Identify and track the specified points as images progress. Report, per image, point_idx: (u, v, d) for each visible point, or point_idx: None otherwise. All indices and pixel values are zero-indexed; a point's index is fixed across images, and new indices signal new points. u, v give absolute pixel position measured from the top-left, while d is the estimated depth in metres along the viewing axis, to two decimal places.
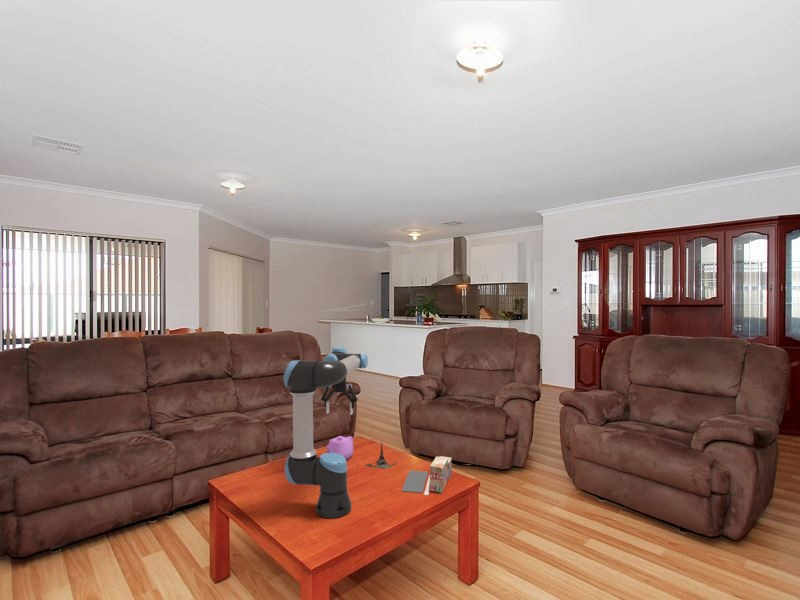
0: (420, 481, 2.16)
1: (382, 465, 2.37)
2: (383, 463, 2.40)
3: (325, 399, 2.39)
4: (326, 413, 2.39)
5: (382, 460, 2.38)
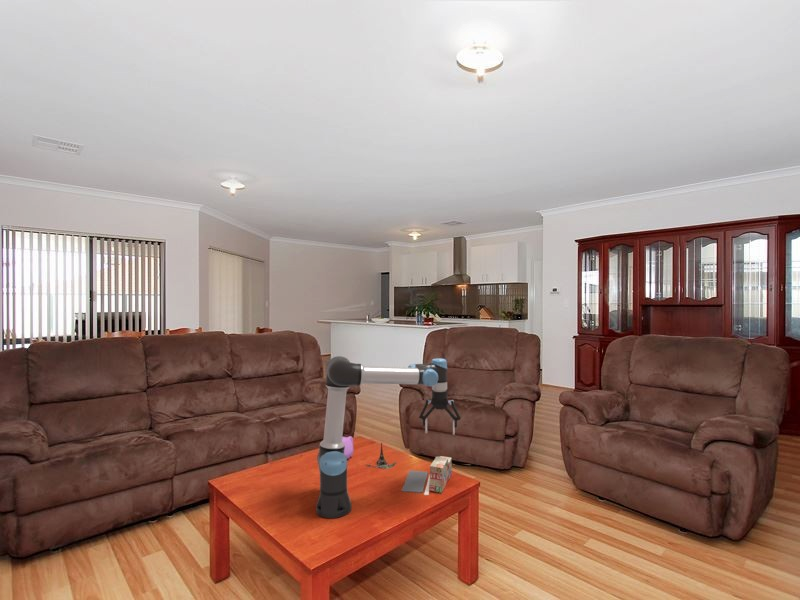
0: (420, 481, 2.16)
1: (382, 465, 2.37)
2: (383, 463, 2.40)
3: (424, 417, 2.14)
4: (425, 432, 2.14)
5: (382, 460, 2.38)
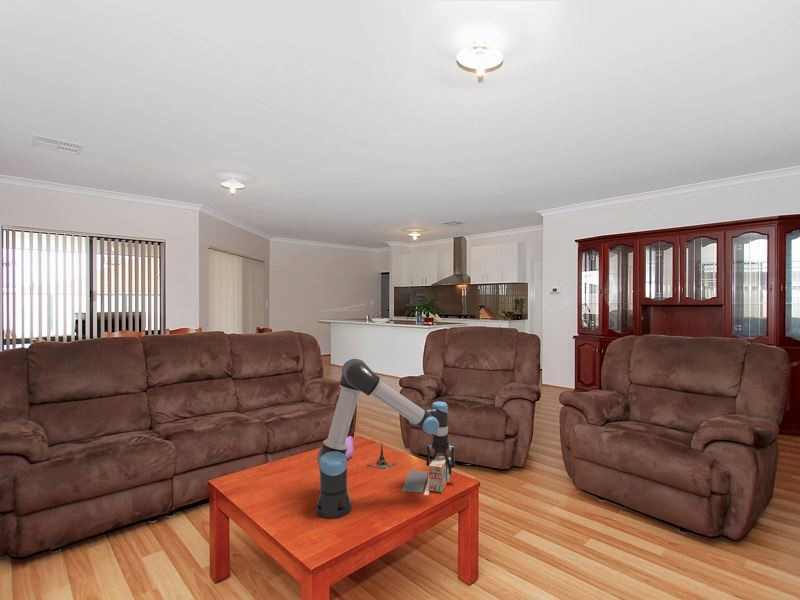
0: (420, 481, 2.16)
1: (382, 465, 2.37)
2: (383, 463, 2.40)
3: None
4: None
5: (382, 460, 2.38)
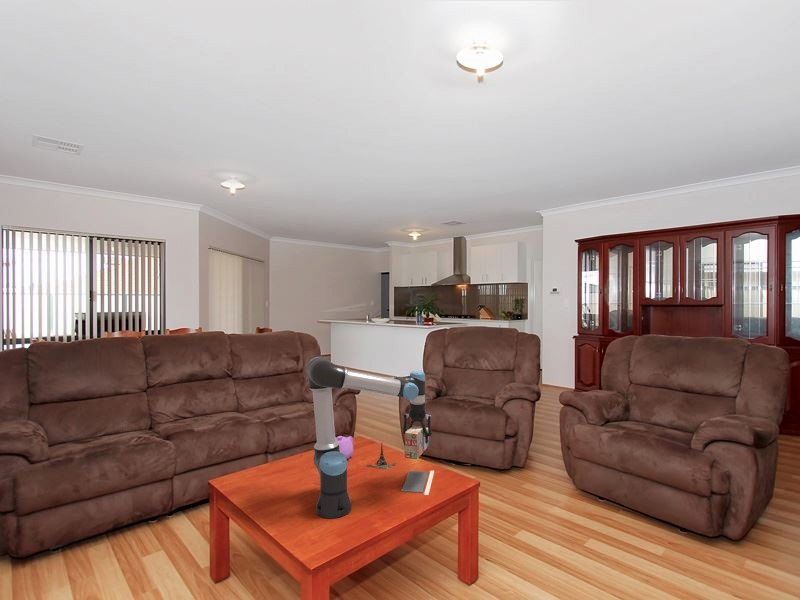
0: (420, 481, 2.16)
1: (382, 465, 2.37)
2: (383, 463, 2.40)
3: None
4: None
5: (382, 460, 2.38)
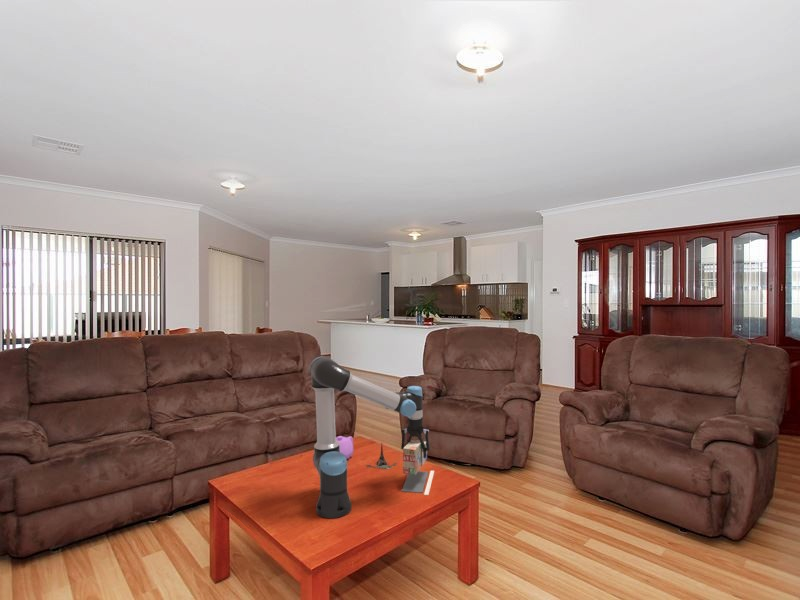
0: (420, 481, 2.16)
1: (382, 466, 2.37)
2: (383, 463, 2.39)
3: None
4: None
5: (382, 460, 2.38)
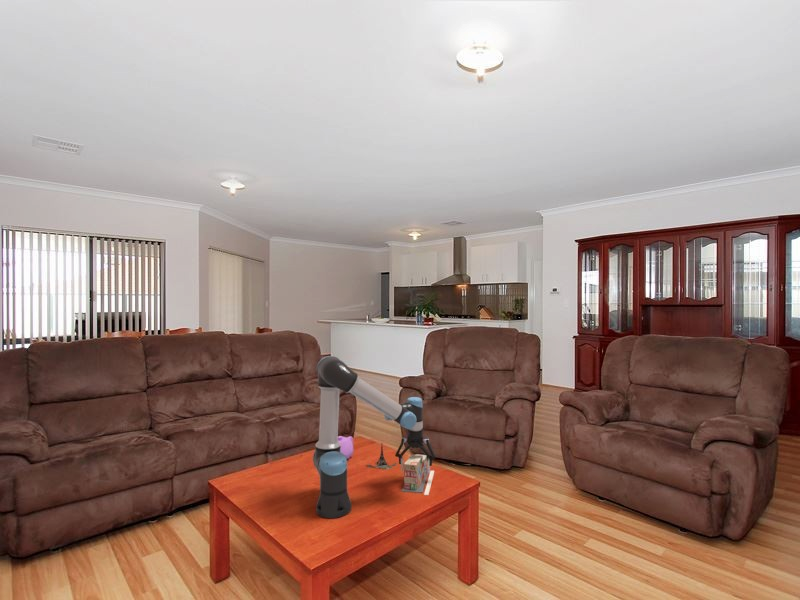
0: None
1: (382, 466, 2.36)
2: (383, 464, 2.39)
3: (400, 455, 2.17)
4: None
5: (382, 461, 2.37)
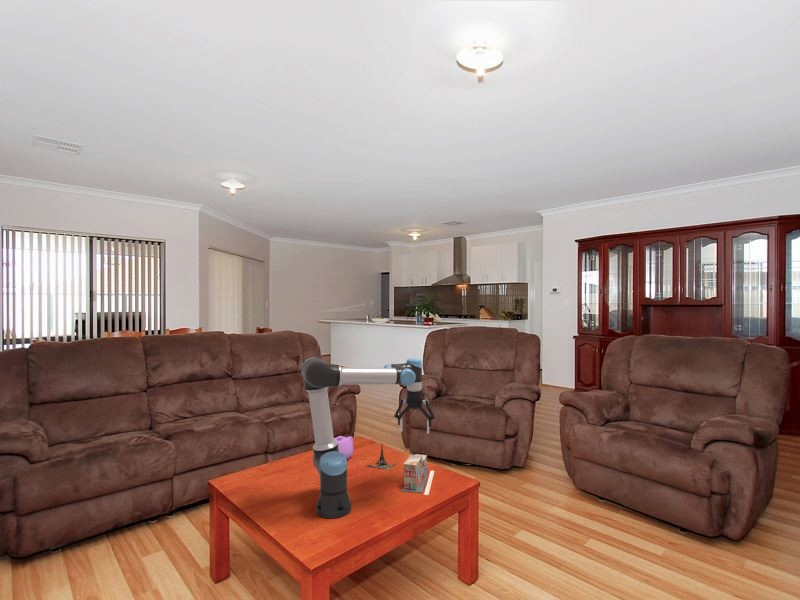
0: None
1: (382, 466, 2.36)
2: (383, 464, 2.39)
3: (399, 416, 2.16)
4: (400, 431, 2.16)
5: (382, 461, 2.37)
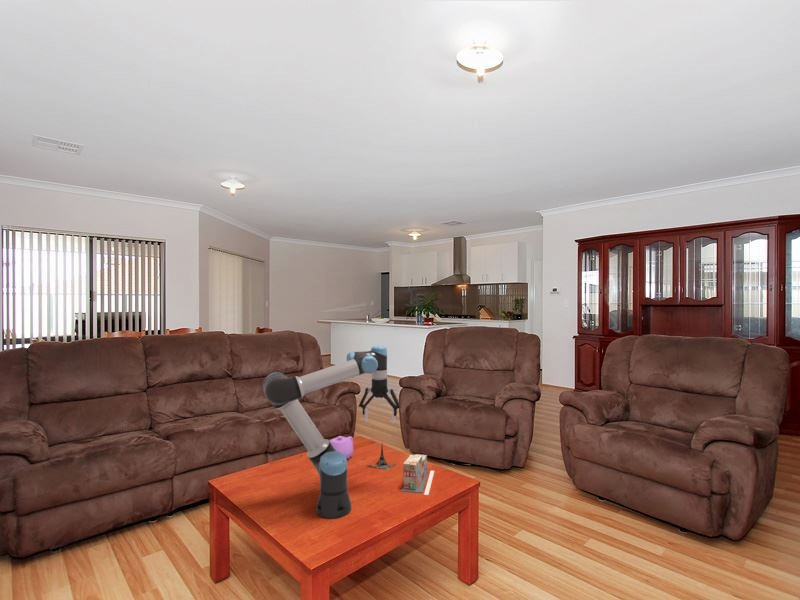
0: None
1: (382, 466, 2.36)
2: (383, 464, 2.39)
3: (363, 405, 2.10)
4: None
5: (382, 461, 2.37)
